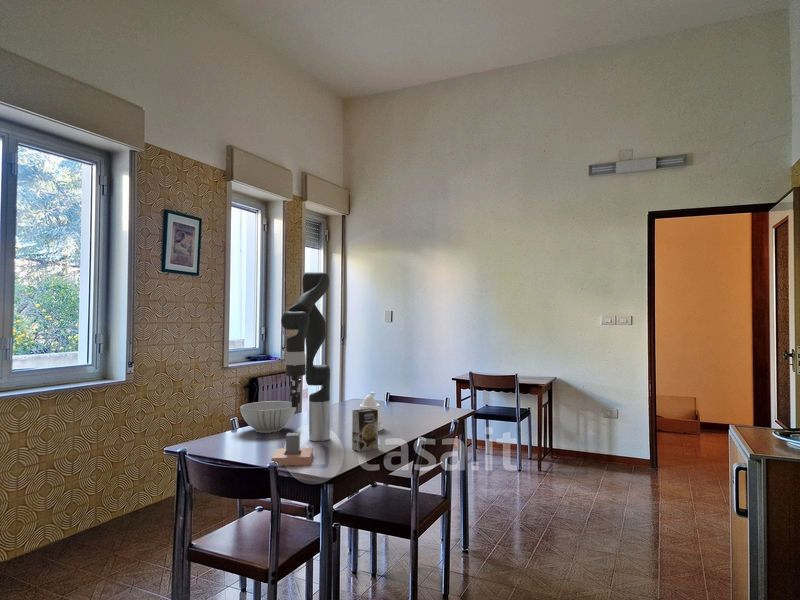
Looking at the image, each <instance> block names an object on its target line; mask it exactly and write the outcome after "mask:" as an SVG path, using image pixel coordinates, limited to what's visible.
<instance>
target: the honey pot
mask: <svg viewBox="0 0 800 600" xmlns="http://www.w3.org/2000/svg"><path fill="white" fill-rule="evenodd" d="M375 395H376V391H370V394H367V395H366V396H365V397H364V399H363V400H362V403H360V404H359V407H360V408H359V410H360V409H368V408H371V409H376V410H378V432H380V430H381V431H383V417H382V413H381V410H380V408H379V407H380V406H381V405H380V404H379V403H377V401H376V399H375Z"/></svg>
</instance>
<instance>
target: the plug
mask: <svg viewBox="0 0 800 600" xmlns="http://www.w3.org/2000/svg"><path fill="white" fill-rule="evenodd" d="M300 437H301V434H300V432H287V433H286V435H285V448H286V455H298V454H300V448H301V446H300V445H301V444H300V441H301V440H300V439H301V438H300Z"/></svg>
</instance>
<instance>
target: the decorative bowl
mask: <svg viewBox="0 0 800 600" xmlns="http://www.w3.org/2000/svg"><path fill="white" fill-rule="evenodd" d="M296 409H297V407H292V403H291V401H285V400H283V401H282V400H270V401H267V400H266V401H258V402H257V401H255V402H251V403H250V402H249V403H246V404H242V405H241V406H239V411H240V414H241V416H242V418H243V420H244V421H245V422H246V424H247V425H248V426H249V427H251V428H252V429H254V430H255V432H256V433H258V432H260V433H259V434H271V432H273V433H278V432H280V430H281V431H282V429H283V427H285V426H286V425H287V424H288V423H289V422H290V421H291V420H292V419H293V417H294V414H295V412H296ZM277 431H278V432H277Z"/></svg>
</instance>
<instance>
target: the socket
mask: <svg viewBox="0 0 800 600" xmlns="http://www.w3.org/2000/svg"><path fill="white" fill-rule="evenodd" d="M313 449H314V447H300V454H298V455H286V447H285V448H282V447H281V448H276V450H275V451H274V453H273V454H272V457H271V458H270V459H271V461H270V463H271V462H272V461H274V462H277V463H278V465H285V466H284V467H290V466H289V465H296V466H310V465H311V462H312V460H311V459H313V456H314V450H313ZM287 465H288V466H287Z"/></svg>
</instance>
